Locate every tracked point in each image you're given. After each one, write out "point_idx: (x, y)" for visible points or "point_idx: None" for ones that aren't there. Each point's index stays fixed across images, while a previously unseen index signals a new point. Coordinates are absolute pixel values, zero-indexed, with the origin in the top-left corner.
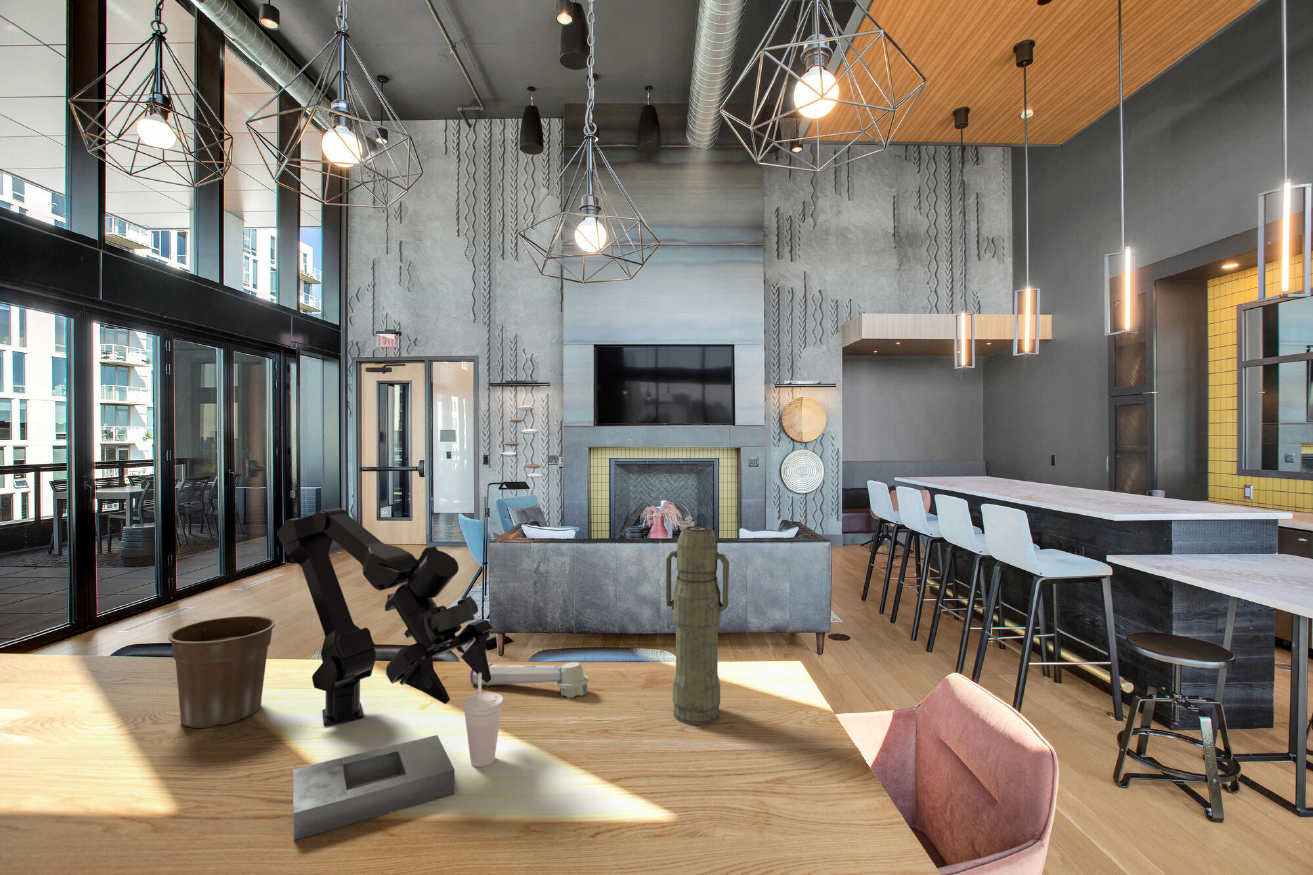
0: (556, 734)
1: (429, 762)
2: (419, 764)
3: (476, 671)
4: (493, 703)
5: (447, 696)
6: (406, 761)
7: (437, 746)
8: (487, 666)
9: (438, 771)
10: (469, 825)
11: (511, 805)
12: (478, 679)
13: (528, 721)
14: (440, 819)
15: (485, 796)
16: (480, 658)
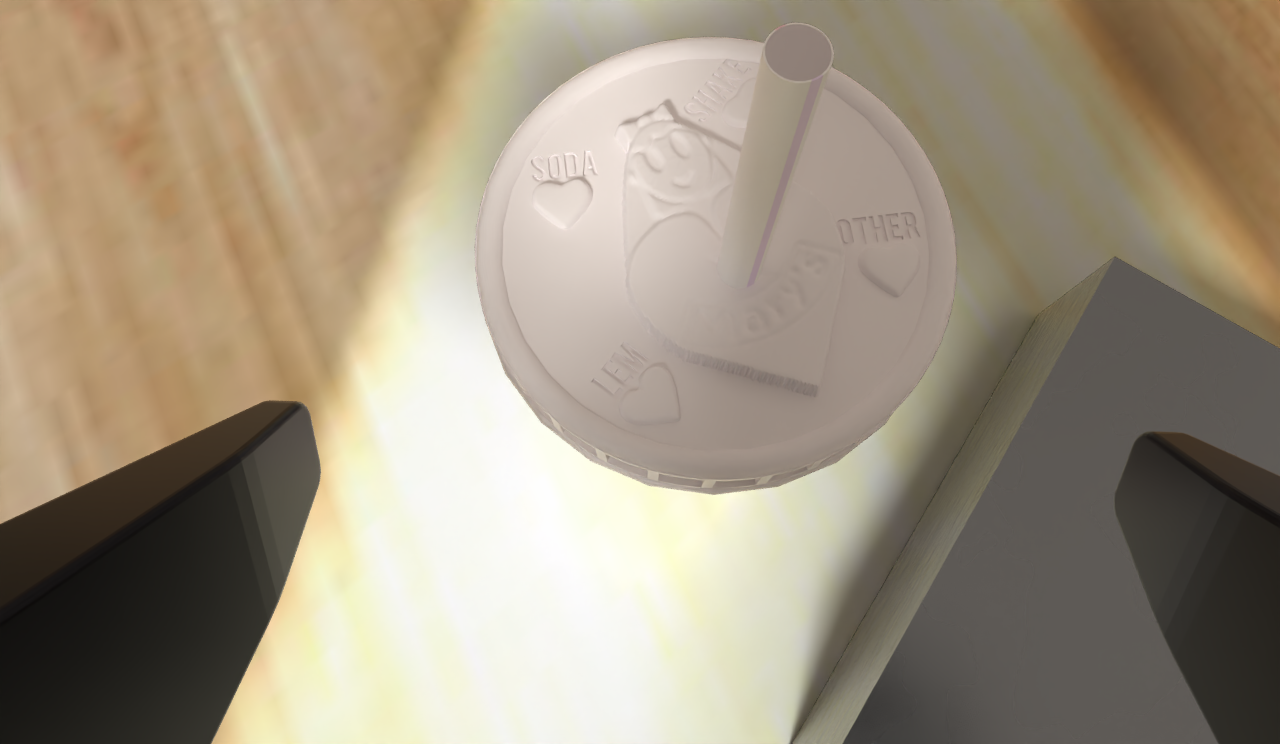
0: (207, 199)
1: None
2: None
3: (201, 727)
4: (716, 97)
5: (1206, 446)
6: None
7: (963, 614)
8: (116, 485)
9: (1192, 338)
10: (1172, 74)
11: (945, 6)
12: (810, 122)
13: (83, 480)
14: (1229, 222)
15: (958, 156)
16: (14, 647)
